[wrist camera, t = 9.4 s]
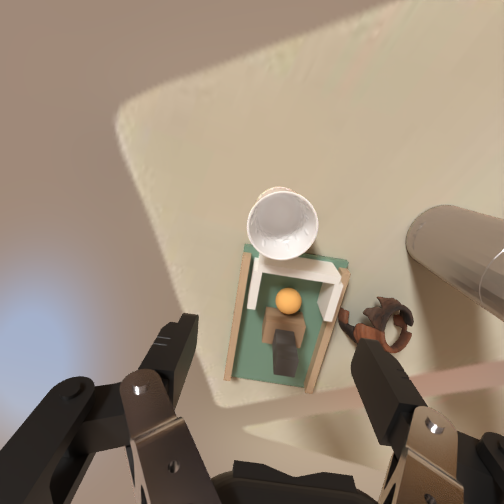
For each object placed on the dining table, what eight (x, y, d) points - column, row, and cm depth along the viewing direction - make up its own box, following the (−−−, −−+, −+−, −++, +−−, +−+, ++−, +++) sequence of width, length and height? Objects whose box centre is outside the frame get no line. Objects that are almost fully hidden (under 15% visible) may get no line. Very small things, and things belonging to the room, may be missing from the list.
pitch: (346, 259, 40) (359, 277, 35) (308, 383, 49) (313, 413, 44) (245, 243, 40) (241, 258, 34) (225, 371, 49) (220, 399, 44)
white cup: (290, 243, 40) (298, 270, 30) (242, 223, 39) (236, 245, 30) (314, 195, 37) (331, 208, 28) (263, 172, 36) (263, 179, 27)
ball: (300, 321, 39) (296, 307, 42) (306, 298, 37) (302, 285, 41) (273, 317, 38) (272, 303, 42) (278, 293, 37) (277, 281, 41)
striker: (302, 312, 42) (313, 356, 33) (296, 331, 44) (306, 380, 34) (266, 306, 42) (266, 349, 33) (262, 326, 44) (261, 373, 34)
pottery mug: (334, 291, 43) (377, 304, 35) (375, 285, 47) (421, 295, 39) (333, 360, 44) (374, 387, 37) (373, 348, 48) (417, 371, 40)
